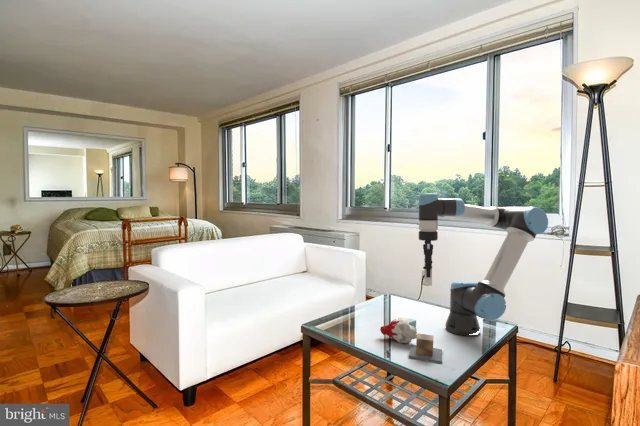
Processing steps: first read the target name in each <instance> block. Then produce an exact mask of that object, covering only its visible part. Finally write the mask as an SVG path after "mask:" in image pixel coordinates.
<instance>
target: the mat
mask: <svg viewBox="0 0 640 426" xmlns="http://www.w3.org/2000/svg"><path fill="white" fill-rule="evenodd" d="M408 359H413V360H418V361H425V362H432V363H435V364H441V365H442V364H443V349H442V348H437V347H433V357H431V356H425V355H419V354H416V344H411V345H410V348H409V352H408Z"/></svg>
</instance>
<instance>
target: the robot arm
mask: <svg viewBox="0 0 640 426" xmlns="http://www.w3.org/2000/svg"><path fill="white" fill-rule="evenodd" d="M439 217H440V218H447V219H453V220H461V221H468V222H473V223H480V224H485V225H486V226H487V227H492V228H497V229H501V230H504V231H506V234H507V235H506V236H505V238H504V240H503V242H502V244H501V246H500V249H499V250H498V252H497V254H496V256H495V257H494V260H493V261H492V263H491V266H490V268H489V269H488V271H487V273H486V275H485V277H484V279H483V280H479V281H478V282H475V281H474V282H473V281H453V282H452V283H451V284H450V288H449V291H450V294H449V295H450V299H449V300H450V301H449V314H448V317H447V319H446V322H445V327H446V328H445V329H446V331H448V332H449V333H451V334H454V335H458V334H459V336H463V335H469V334H473V333H476V332H477V331H479V329H480V330H481V327H480V323H479V319H478V317H479V318H480V319H482V320H483V319H484V320H487V321H494V320H498V319H500V318H501V317H502V316H503V315H504V314H505V312H506V309H507V305H506V304H507V301H506V299H505V297H506V292H505V288H506V287H507V285H508V283H509V280H510V279H511V277H512V274H513V273H514V271H515V269H516V267H517V264H518V263H519V261H520V259H521V256H522V255H523V253H524V251H525V249H526V247H527V245H528V243H530V242H533V241H534V240H535V239H536V236H537V235H540V234H543V233H545V232H546V230H547V228H548V226H549V218H548V215H547V213H546V211H545V210H544V209H542V208H541V207H540V206H539V207H537V206H531V205H529V206H503V207H502V206H500V207H499V206H490V207H484V206H478V205H473V204H465V202H464V200H463V199H462V198H459V197H458V198H456V197H453V198H452V197H450V198H449V197H448V198H447V197H446V198H444V197H443V198H440V197H439V196H438V193H431V192H430V193H428V192H427V193H420V194H419V195H418V222H417V225H418V230H419V231H418V240H419V241H423V242H424V244H422V249H423V255H424V259H423V260H424V265H423V267H422V269H423V270H424V273H423V274H424V275H423V277H424V286H431V287H432V286H433V265H432V264H433V258H432V257H433V252H434V251H433V250H434V244H433V243H432V241H433V242H435V241H438V237H439V236H438V230H439V219H438V218H439Z"/></svg>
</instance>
